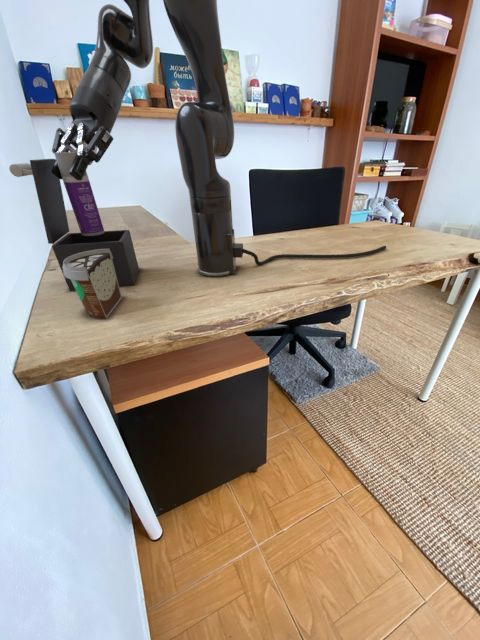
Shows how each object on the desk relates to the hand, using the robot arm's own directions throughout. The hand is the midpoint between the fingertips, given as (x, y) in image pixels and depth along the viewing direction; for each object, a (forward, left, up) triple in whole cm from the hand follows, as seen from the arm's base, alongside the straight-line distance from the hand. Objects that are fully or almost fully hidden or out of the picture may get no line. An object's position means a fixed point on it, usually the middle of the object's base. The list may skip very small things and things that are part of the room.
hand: (66, 176), depth 58 cm
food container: (-6, +14, -22) cm, 27 cm away
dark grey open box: (-1, -2, -22) cm, 22 cm away
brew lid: (+4, 0, -4) cm, 6 cm away
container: (-1, -2, -11) cm, 11 cm away
